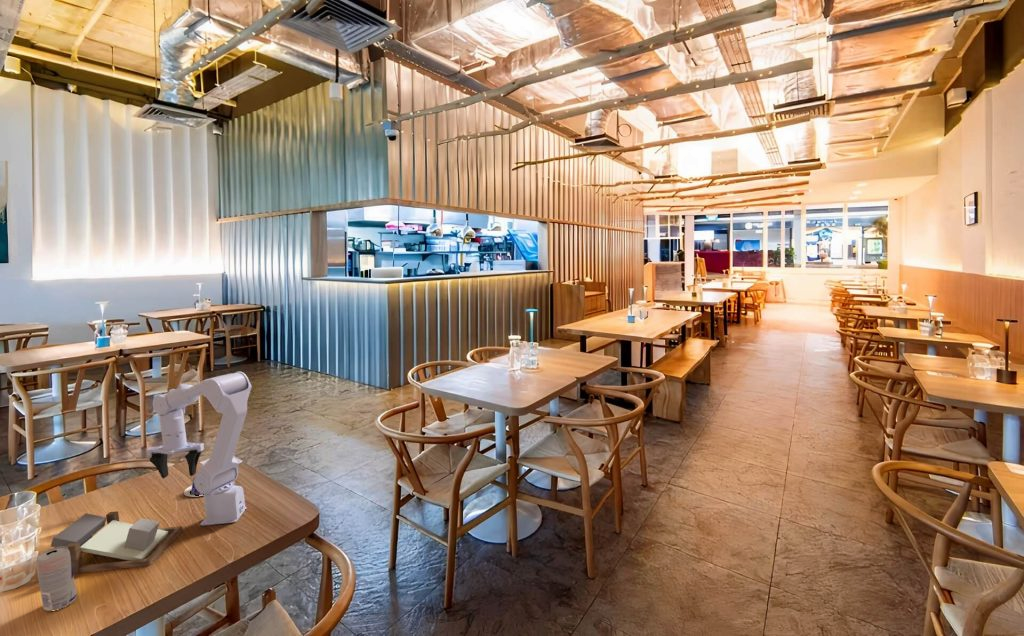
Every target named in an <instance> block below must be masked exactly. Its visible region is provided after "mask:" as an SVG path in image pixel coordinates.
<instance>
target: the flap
mask: <svg viewBox="0 0 1024 636" xmlns="http://www.w3.org/2000/svg"><path fill="white" fill-rule="evenodd" d="M106 523H107V519H106V516H101V515H96V514H91V513H84V514H83V515H82V516H80V517H79V518H77V520H75V521H74V522H72V523H71V524H69V525H68V526H67V527H65V528H64V529H62V530H61V531H60V532H59V533H57V534H55V536H53V537H52V540H51V544H50V547H52V548H56V547H61V546H65V547H66V546H67V545H68V544H70V543H78V542H79V543H80V545H81V544H83V543H84V542H85V541H86V540H88V539H89V538H90V537H91V536H92V538H91V539H89V540H88V541H87V542H86V543H84V544H83V545H82V546H81V547H80V550H81V552H83V553H89V554H93V555H99V556H105V557H110V558H115V559H119V560H123V561H130V560H139V559H146V558H147V556H148V555H149V554H150V553H151V552H152V551H153V550H154V549H155V548H156V547H157V546H158V545H160V543H162V541H163V540H164V539H165V538H166V537H167V535H168V534H169V533H168V531H164V530H159V529H157V533H156V536H155V540H154V541H153V542H152V543H151V544H150V545H149V546H148V548H147V549H146V550H145V551H139V550H134V549H129V548H124V546H125V542H126V539H127V535H128V532H129V528H130V527H131V526H132V525H134V524H135V523H129V522H123V521H120V520H119V521H115V520H113V521H111V522H110V523H109V524H108V525H107V524H106Z"/></svg>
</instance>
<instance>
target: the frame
mask: <svg viewBox="0 0 1024 636" xmlns="http://www.w3.org/2000/svg"><path fill="white" fill-rule="evenodd" d="M105 517H106V523H107V524H106V525H108V524H109V523H110V522H111V521H113V520H115V521H120V517H119V511H109V512H108V513H107V514H106V515H105ZM158 529H159V530H164V531H168V534H169V535H168V536H167V538H166V539H165V540H164V541H163V542H161V544H159V546H158V547H157V548H156V549H155V550H154V551H153V552H152V553H151V554H150V555H149V556H148V557H147V558H144V559H139V560H123V561H121V560H120V561H112V562H104V563H95V564H87V565H84V563H83V557H82V551H81V550H80V547H81V546H82V545H83V544H84V543H86V542H87V541H88V540H89V539H91V538H92V537H93V535H92V536H91V537H90V538H89V539H88V540H86V541H85V542H84V543H83V544H81V545H80V543H79V542H78V543H70V544H68V545H67V546H66V547H67V548H68V550H69V551H70V557H71V563H72V569H73V575H79V574H81V573H82V574H84V573H91V572H92V573H93V572H103V571H108V570H110V571H111V570H118V569H128V568H135V567H144V566H151V564H153V563H154V562H155V561H156V559H158V558H159V556H160V555H161V554H162V553H163V552H164V551H165V550H166V548H167V547H168V546H170V544H172V542H173V541H174V540H175V539H176V538H177V537H178V536H179V534H181V533H182V532H183V526H182V525H180V526H171V527H169V526H168V527H162V528H159V527H158Z"/></svg>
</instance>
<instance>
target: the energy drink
mask: <svg viewBox="0 0 1024 636" xmlns="http://www.w3.org/2000/svg"><path fill="white" fill-rule="evenodd" d="M35 568H36V571H37V572H36V573H37V578H38V584H39V590H40V595H41V602H42V607H43V610H44V611H45V610H46V611H45V612H47V611H52V610H57V609H60V610H62V609H61V608H63V609H65V608H66V607H65V606H67V605H69V604H70V605H72V604H73V603H72V602H73V601H74V600H76V599H77V597H78V596H77V587H76V582H75V578H74V577H75V574H73V569H72V563H71V557H70V551H69V550H68V548H67V547H65V546H61V547H56V548H55V547H52V548H49V549H46V550H45V551H42V552H41V553H40V554H38V555H37V556H36V560H35ZM74 602H75V601H74ZM70 605H69V606H70ZM64 607H65V608H64ZM67 607H68V606H67ZM57 611H58V610H57Z"/></svg>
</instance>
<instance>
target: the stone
mask: <svg viewBox="0 0 1024 636" xmlns="http://www.w3.org/2000/svg"><path fill="white" fill-rule="evenodd" d="M133 524H134V525H132V526H131V527H130V528H129V532H128V535H127V539H126V542H125V546H124V548H129V549H134V550H139V551H145V550H146V549H147V548H148V546H149V545H150V544H151V543H152V542H153V541H154V540H155V536H156V533H157V529H158V528H159V526H160V521H156V520H153V519H147V518H142V517H140V518H139V519H138V520H137V521H136V522H134V523H133Z"/></svg>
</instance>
